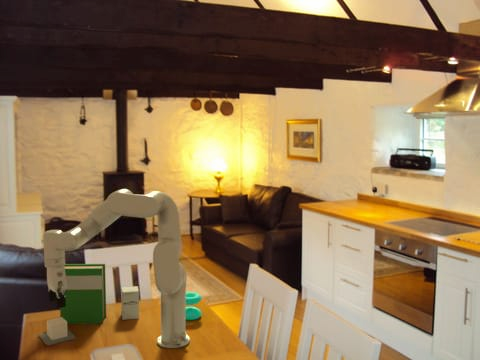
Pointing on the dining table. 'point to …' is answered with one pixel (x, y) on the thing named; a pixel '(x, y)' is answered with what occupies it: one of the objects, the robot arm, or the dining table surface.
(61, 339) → the charcoal mat
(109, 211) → the robot arm
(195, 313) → the donuts
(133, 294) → the supplement box
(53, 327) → the painted cube
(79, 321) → the hardback book
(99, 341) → the dining table surface
